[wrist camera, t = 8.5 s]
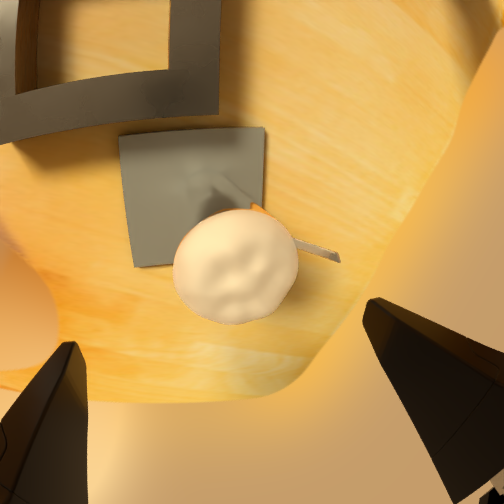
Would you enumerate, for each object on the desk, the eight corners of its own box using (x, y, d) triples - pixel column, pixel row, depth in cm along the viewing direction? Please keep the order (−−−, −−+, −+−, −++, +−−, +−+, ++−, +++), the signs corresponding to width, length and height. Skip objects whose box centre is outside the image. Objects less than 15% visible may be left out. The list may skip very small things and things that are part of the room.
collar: (216, -74, 11) (226, -97, 8) (209, 110, 16) (218, 114, 14) (15, -44, 8) (-4, -58, 5) (7, 138, 14) (-16, 149, 11)
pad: (262, 126, 18) (264, 128, 17) (257, 250, 22) (259, 253, 21) (119, 135, 16) (118, 136, 15) (134, 263, 20) (134, 267, 19)
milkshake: (268, 205, 20) (353, 305, 11) (189, 246, 20) (219, 374, 11) (239, 138, 17) (320, 196, 9) (152, 182, 17) (146, 286, 9)
